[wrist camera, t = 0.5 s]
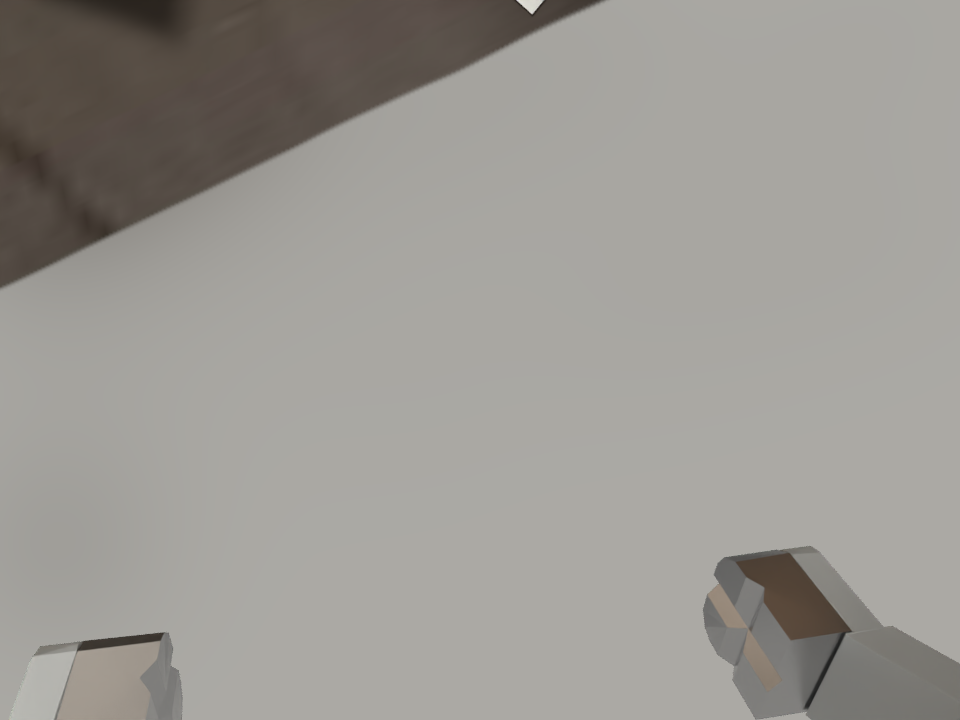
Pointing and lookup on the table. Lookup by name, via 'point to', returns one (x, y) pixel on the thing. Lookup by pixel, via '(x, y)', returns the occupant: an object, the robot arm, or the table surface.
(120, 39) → the table surface
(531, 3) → the letter
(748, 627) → the robot arm
